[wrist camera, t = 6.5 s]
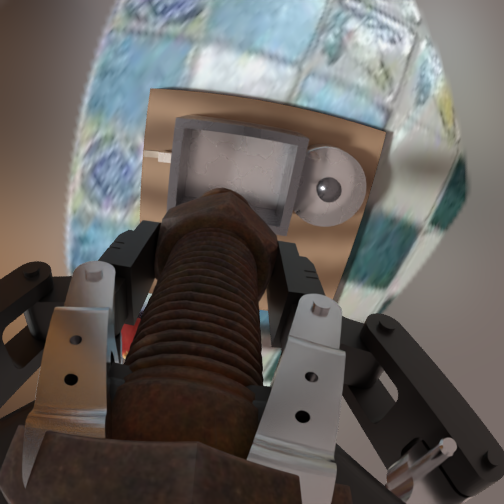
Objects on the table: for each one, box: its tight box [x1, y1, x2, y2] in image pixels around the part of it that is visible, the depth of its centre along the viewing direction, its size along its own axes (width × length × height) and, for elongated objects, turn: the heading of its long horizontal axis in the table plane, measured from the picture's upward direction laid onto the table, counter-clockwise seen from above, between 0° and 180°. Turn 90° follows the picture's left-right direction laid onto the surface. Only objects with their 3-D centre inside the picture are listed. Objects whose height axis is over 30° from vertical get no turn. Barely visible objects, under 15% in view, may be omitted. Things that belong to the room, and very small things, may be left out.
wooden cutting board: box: [140, 89, 386, 311], centre depth 34 cm, size 25×25×2 cm
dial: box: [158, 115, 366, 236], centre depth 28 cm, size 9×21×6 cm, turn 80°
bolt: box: [0, 188, 353, 504], centre depth 9 cm, size 6×5×15 cm
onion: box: [121, 318, 141, 359], centre depth 39 cm, size 6×6×8 cm
